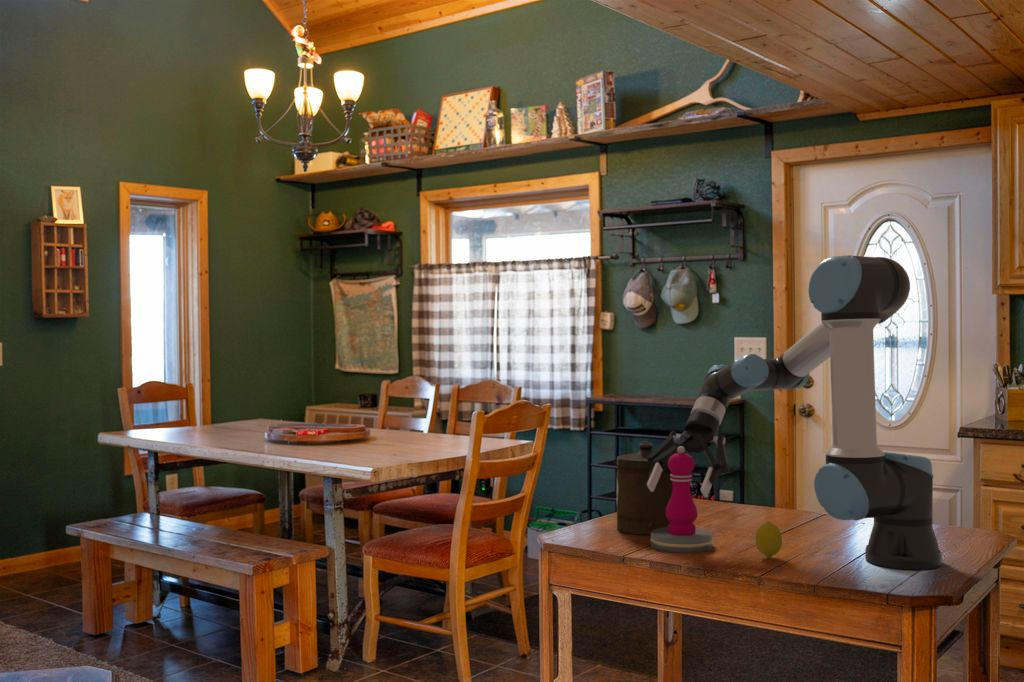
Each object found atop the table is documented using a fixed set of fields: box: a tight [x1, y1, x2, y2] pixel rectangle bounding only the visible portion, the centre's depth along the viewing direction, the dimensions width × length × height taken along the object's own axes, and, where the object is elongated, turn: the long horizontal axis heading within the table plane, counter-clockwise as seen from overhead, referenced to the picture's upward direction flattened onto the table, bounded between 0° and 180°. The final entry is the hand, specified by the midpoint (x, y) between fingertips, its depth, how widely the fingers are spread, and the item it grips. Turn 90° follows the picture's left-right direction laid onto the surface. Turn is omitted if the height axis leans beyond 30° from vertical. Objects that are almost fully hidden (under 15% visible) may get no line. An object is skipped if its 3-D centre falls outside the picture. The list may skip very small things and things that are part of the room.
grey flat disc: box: [650, 527, 713, 554], centre depth 226 cm, size 14×14×3 cm
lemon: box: [755, 521, 783, 559], centre depth 213 cm, size 6×6×8 cm
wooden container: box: [616, 440, 673, 536], centre depth 245 cm, size 15×15×22 cm
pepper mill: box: [666, 445, 698, 536], centre depth 226 cm, size 7×7×20 cm
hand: (676, 491), depth 224 cm, fingers open, 13 cm apart
